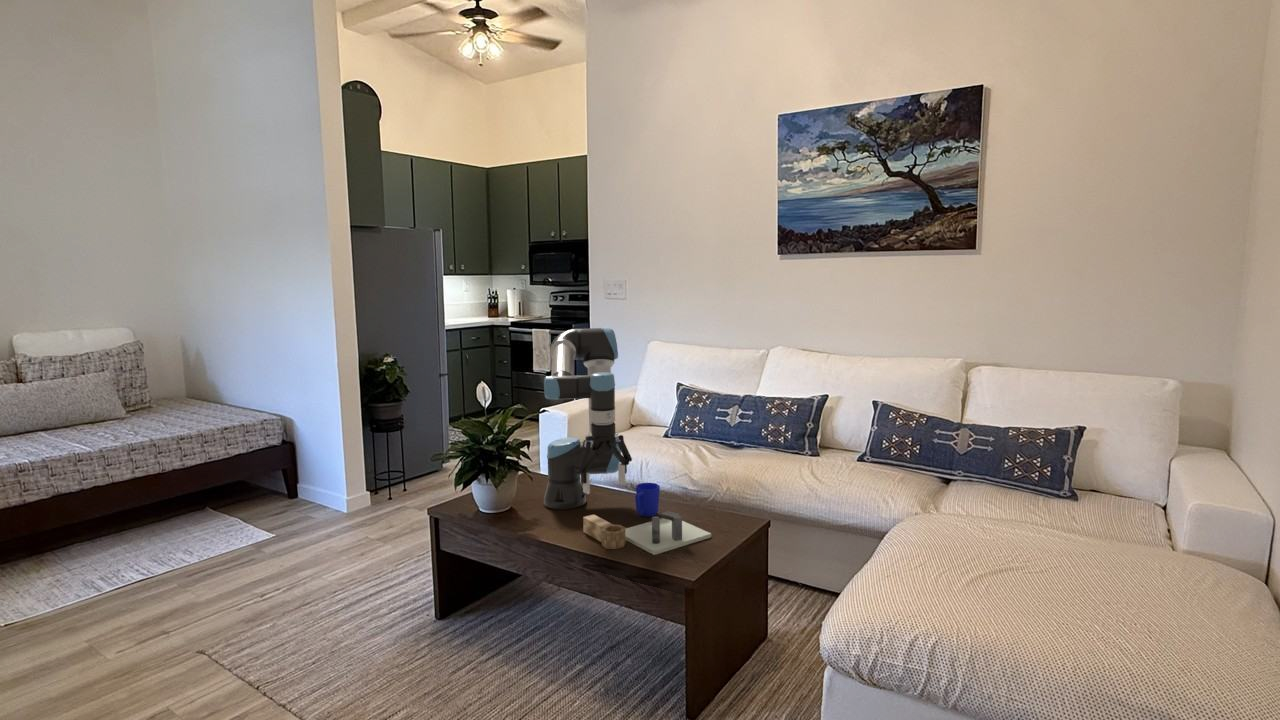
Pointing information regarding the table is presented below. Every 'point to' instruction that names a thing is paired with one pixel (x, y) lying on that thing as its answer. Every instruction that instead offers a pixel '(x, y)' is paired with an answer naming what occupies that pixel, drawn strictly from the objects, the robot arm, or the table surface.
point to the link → (604, 532)
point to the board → (664, 536)
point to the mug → (647, 499)
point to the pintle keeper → (675, 526)
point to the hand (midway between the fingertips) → (604, 488)
